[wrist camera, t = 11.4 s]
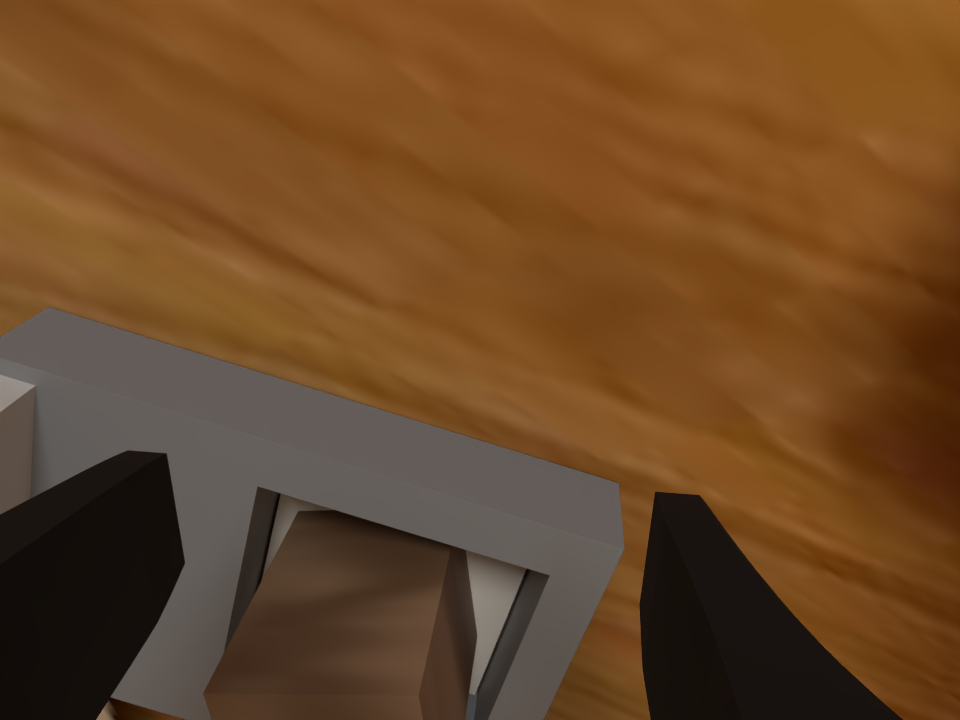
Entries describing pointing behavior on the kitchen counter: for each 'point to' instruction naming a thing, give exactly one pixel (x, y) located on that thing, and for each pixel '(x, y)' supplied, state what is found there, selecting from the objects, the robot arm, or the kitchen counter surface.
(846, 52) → the kitchen counter surface
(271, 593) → the walnut peg
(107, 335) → the socket block
